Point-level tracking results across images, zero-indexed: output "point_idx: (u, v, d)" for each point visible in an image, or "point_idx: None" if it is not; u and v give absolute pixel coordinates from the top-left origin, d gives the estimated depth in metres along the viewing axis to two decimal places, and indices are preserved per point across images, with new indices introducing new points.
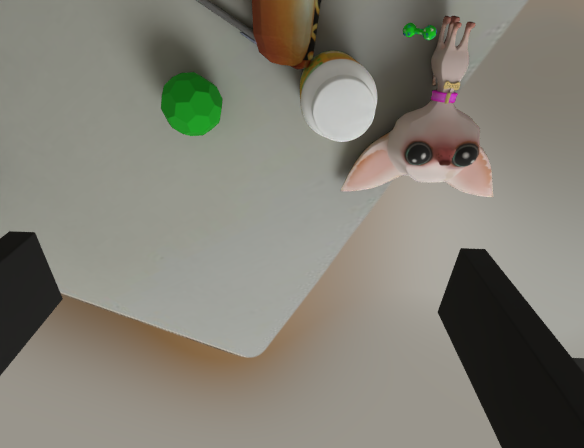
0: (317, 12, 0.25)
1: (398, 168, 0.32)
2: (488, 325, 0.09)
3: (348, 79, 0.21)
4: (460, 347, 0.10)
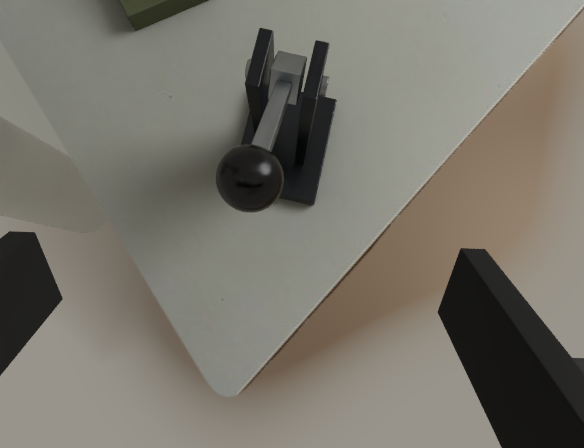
0: None
1: None
2: (488, 325, 0.09)
3: None
4: (460, 347, 0.10)
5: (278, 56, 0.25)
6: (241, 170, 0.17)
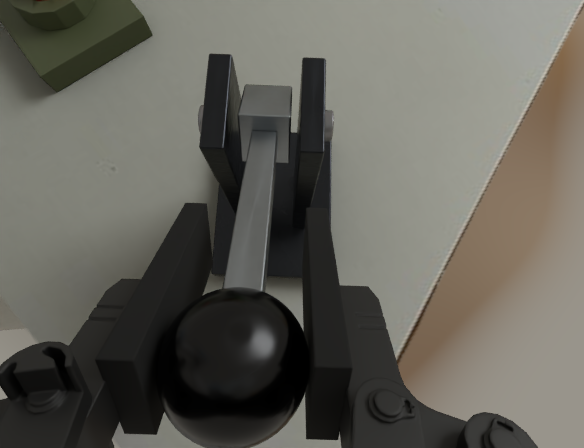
0: None
1: None
2: (306, 265, 0.11)
3: None
4: (303, 290, 0.12)
5: (247, 93, 0.15)
6: (209, 383, 0.07)
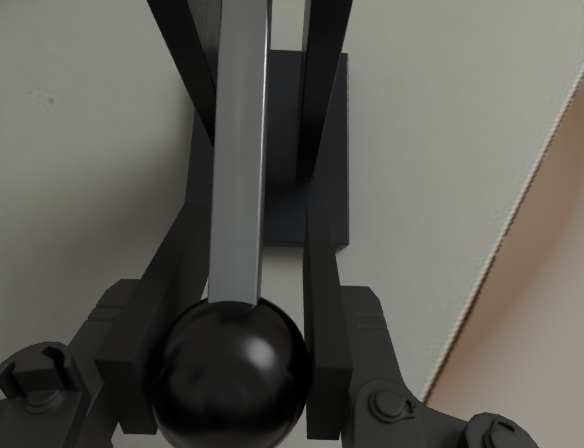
0: None
1: None
2: (307, 265, 0.11)
3: None
4: (303, 290, 0.12)
5: None
6: None
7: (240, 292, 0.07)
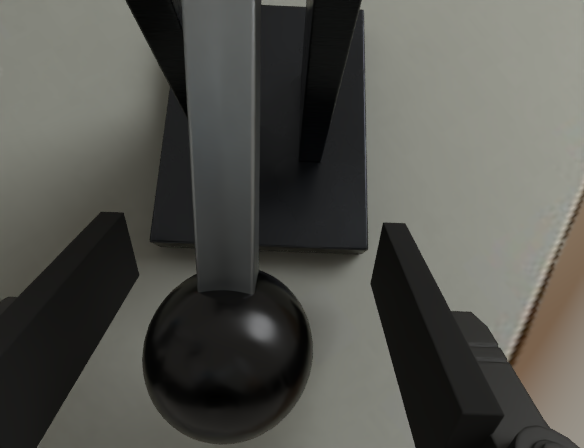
0: None
1: None
2: (395, 286, 0.10)
3: None
4: (381, 311, 0.11)
5: None
6: None
7: (234, 282, 0.06)
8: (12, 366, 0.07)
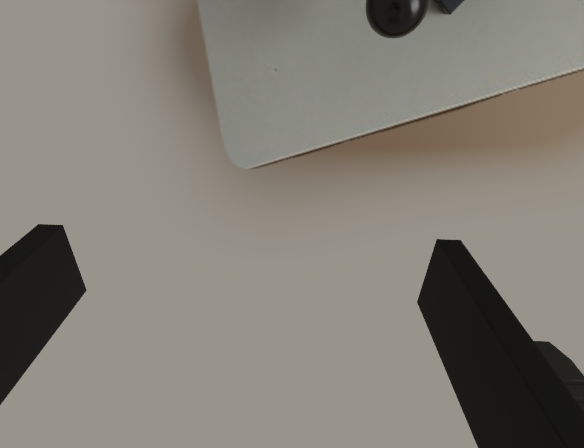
0: None
1: None
2: (459, 311, 0.09)
3: None
4: (436, 334, 0.11)
5: None
6: (375, 23, 0.20)
7: None
8: None
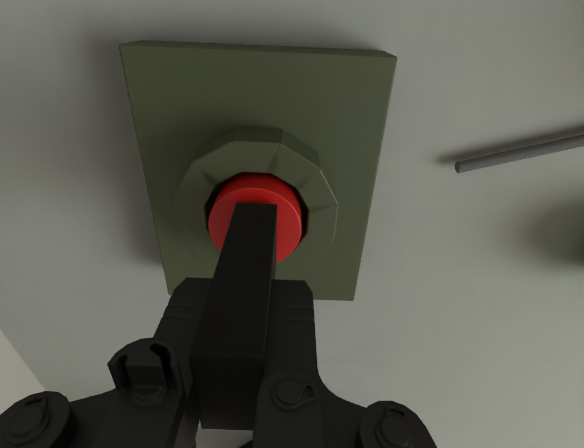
0: None
1: None
2: None
3: None
4: None
5: None
6: None
7: None
8: None
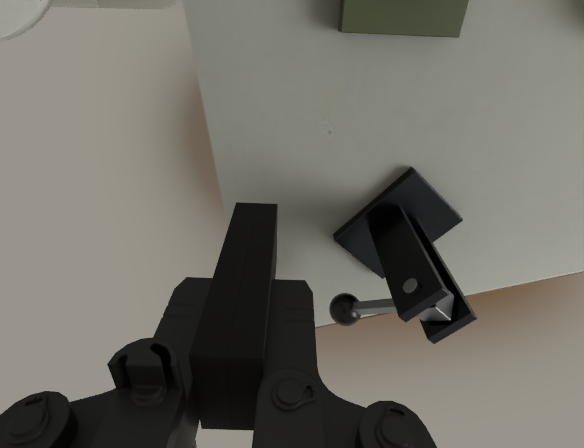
0: None
1: None
2: None
3: None
4: None
5: (426, 309, 0.29)
6: (334, 319, 0.39)
7: (357, 313, 0.37)
8: None
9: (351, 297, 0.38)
